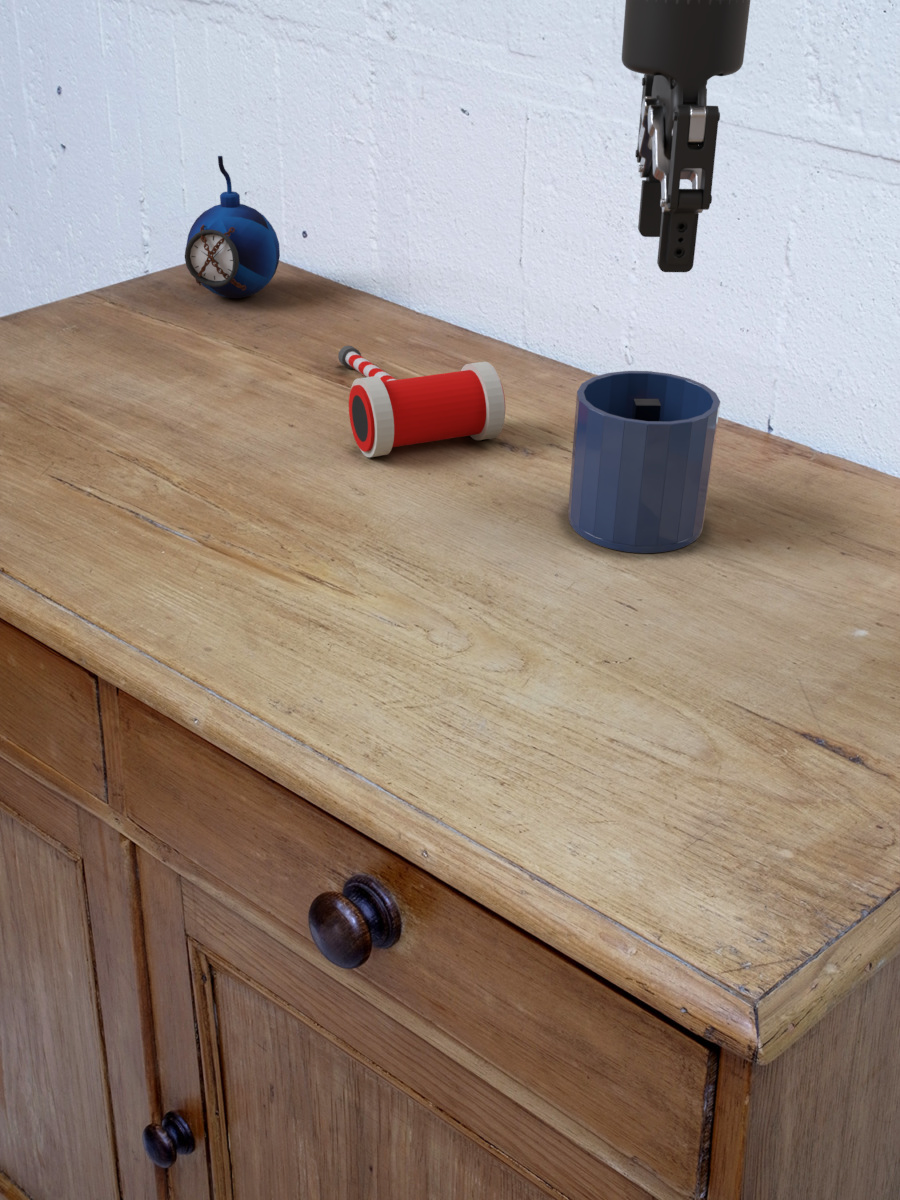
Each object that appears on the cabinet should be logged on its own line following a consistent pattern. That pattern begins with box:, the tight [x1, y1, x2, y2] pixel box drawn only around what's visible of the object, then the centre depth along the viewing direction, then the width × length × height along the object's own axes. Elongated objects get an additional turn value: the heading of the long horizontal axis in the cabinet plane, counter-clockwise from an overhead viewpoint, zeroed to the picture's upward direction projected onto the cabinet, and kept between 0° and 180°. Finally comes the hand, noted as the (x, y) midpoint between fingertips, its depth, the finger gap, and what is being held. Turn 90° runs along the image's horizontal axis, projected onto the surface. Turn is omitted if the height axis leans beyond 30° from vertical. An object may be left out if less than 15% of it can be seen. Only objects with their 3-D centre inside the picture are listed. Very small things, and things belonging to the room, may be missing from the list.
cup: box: [567, 370, 721, 554], centre depth 96 cm, size 10×10×10 cm
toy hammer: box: [337, 345, 506, 458], centre depth 114 cm, size 23×12×6 cm, turn 24°
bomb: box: [184, 155, 281, 299], centre depth 138 cm, size 10×11×15 cm
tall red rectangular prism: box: [632, 399, 661, 421], centre depth 96 cm, size 3×2×9 cm, turn 92°
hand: (663, 252), depth 88 cm, fingers open, 8 cm apart
